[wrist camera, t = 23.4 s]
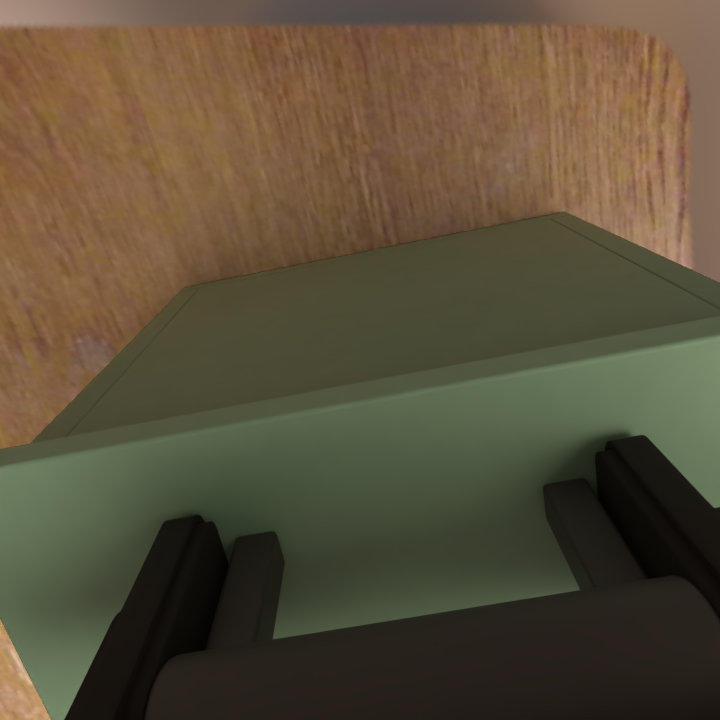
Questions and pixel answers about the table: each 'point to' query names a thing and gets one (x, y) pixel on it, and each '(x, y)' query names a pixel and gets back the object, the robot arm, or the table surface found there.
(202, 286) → the chest
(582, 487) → the lid
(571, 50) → the table surface
